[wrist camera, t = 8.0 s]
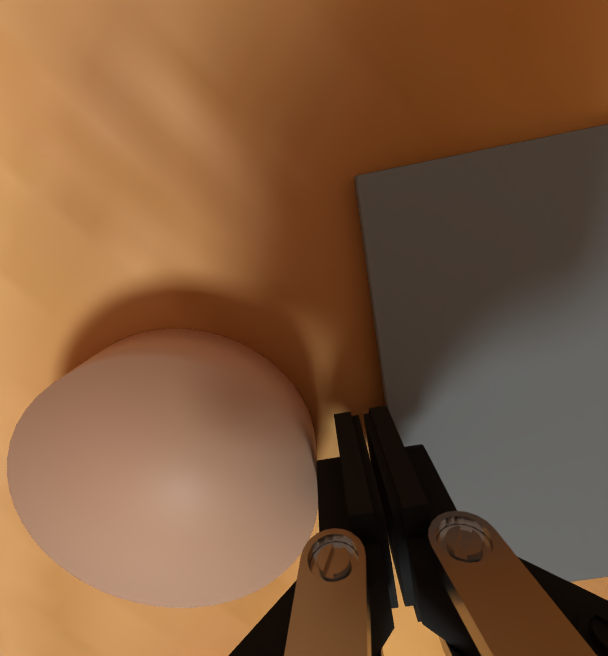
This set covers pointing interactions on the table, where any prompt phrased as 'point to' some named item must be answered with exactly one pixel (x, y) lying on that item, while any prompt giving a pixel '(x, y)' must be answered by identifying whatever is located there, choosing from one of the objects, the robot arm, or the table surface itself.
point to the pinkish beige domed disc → (168, 470)
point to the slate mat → (502, 334)
